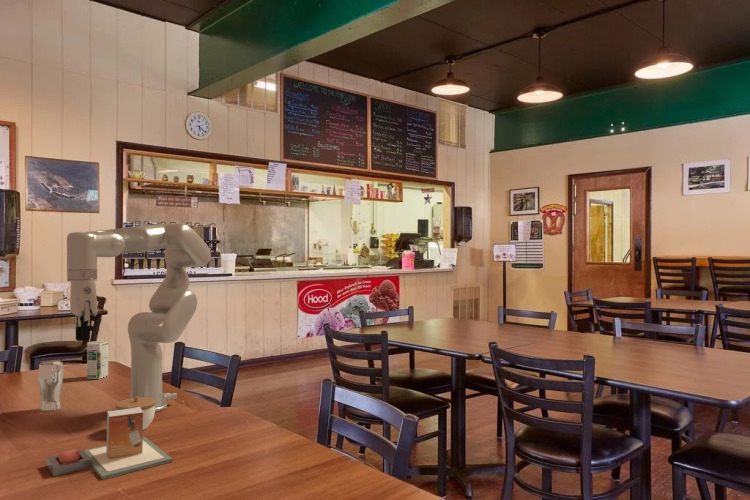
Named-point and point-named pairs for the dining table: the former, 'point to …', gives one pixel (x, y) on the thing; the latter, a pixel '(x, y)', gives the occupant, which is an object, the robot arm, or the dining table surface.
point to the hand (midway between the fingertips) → (82, 339)
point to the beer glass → (50, 385)
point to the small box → (124, 432)
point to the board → (126, 460)
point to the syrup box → (97, 359)
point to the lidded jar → (144, 403)
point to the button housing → (69, 464)
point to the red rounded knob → (69, 456)
